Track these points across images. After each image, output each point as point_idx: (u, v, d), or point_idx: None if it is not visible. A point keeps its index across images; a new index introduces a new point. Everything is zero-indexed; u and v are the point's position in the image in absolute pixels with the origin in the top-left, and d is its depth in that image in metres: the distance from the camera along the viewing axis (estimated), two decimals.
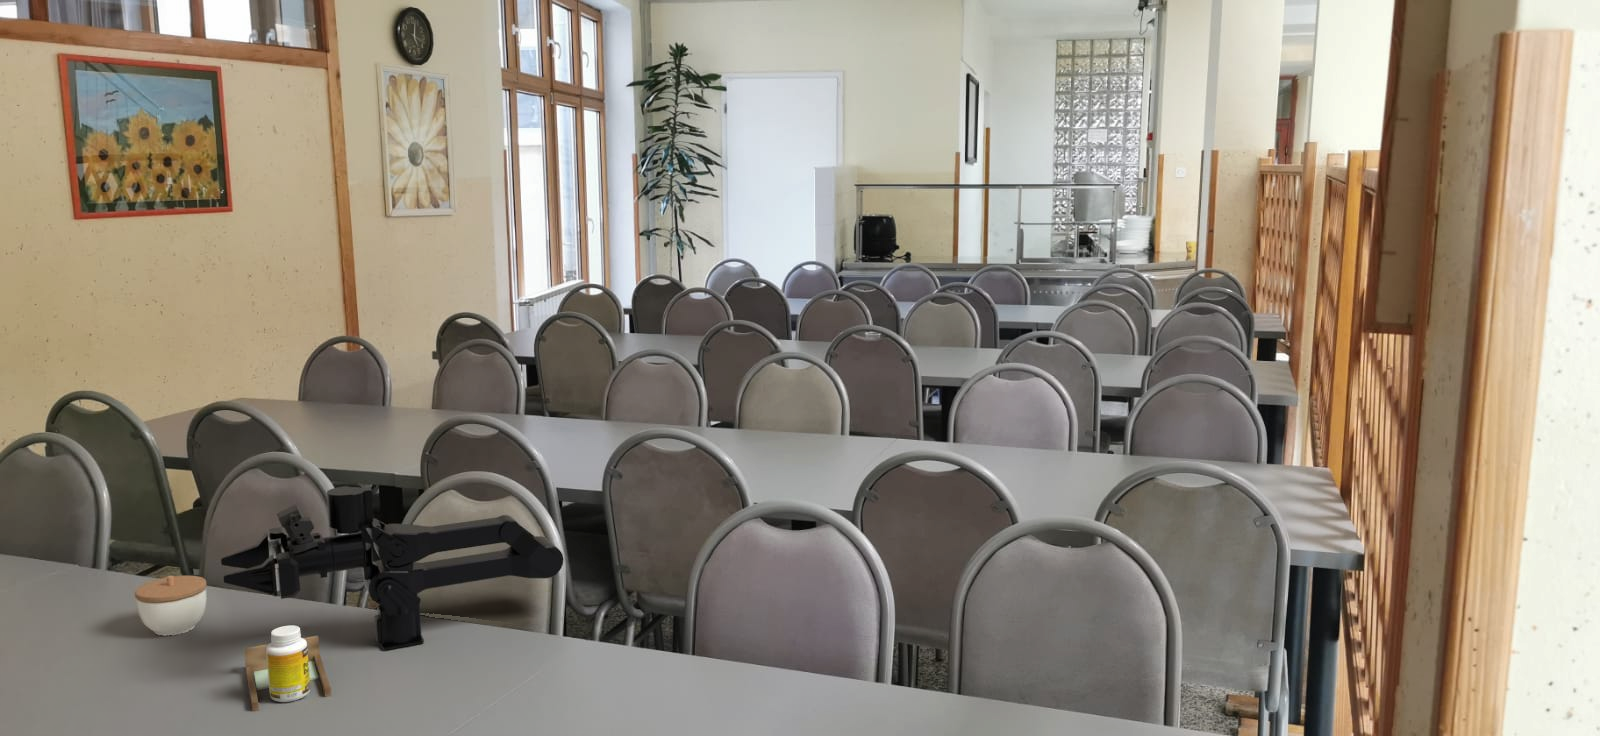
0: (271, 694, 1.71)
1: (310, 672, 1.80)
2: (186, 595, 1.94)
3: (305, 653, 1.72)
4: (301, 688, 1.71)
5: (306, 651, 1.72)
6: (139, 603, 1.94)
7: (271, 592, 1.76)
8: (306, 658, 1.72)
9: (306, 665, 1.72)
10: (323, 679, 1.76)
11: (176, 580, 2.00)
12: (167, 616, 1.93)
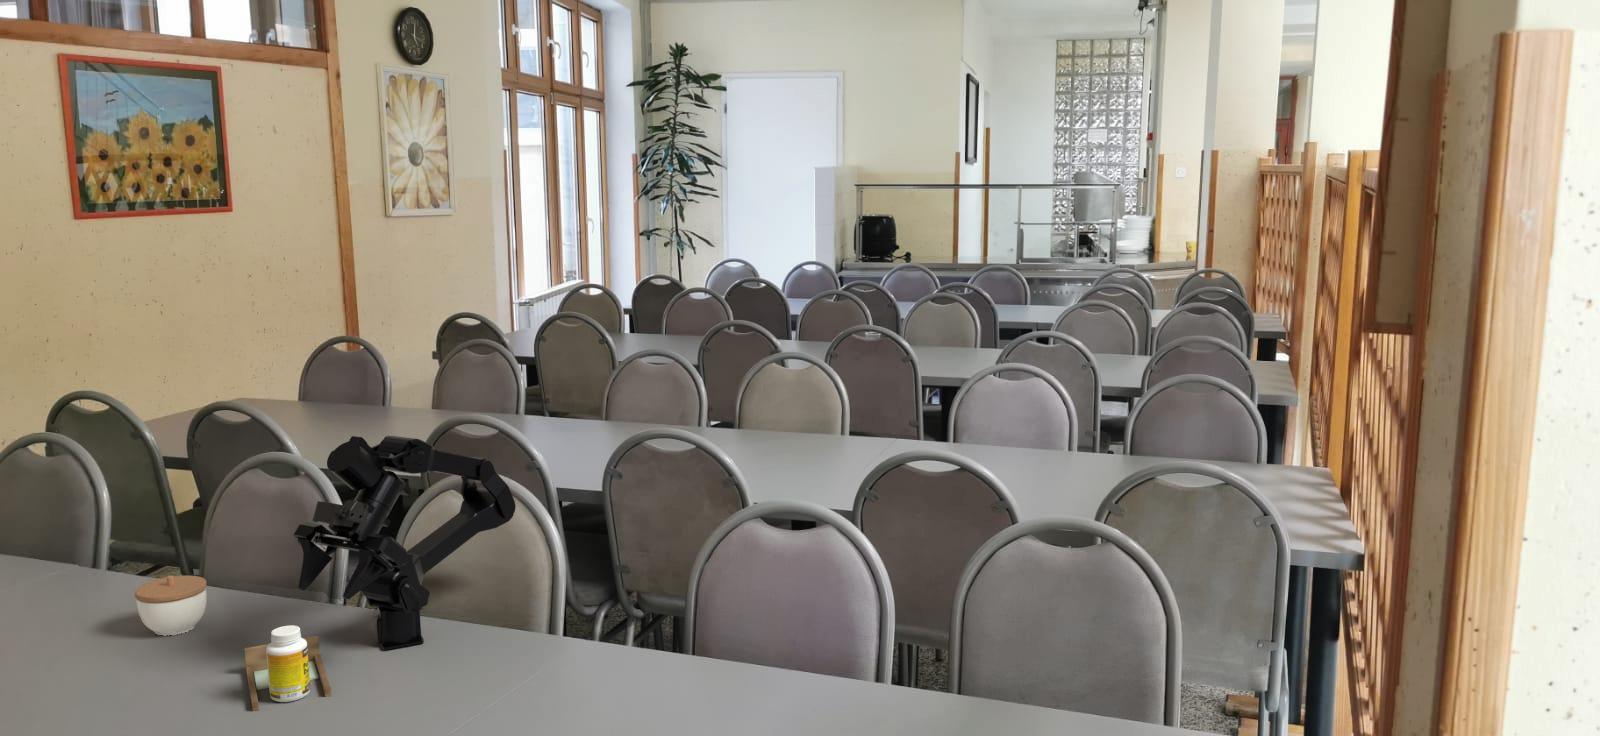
0: (271, 694, 1.71)
1: (310, 672, 1.80)
2: (186, 595, 1.94)
3: (305, 653, 1.72)
4: (301, 688, 1.71)
5: (306, 651, 1.72)
6: (139, 603, 1.93)
7: (385, 570, 1.80)
8: (306, 658, 1.72)
9: (306, 665, 1.72)
10: (323, 679, 1.76)
11: (176, 580, 2.00)
12: (167, 616, 1.93)
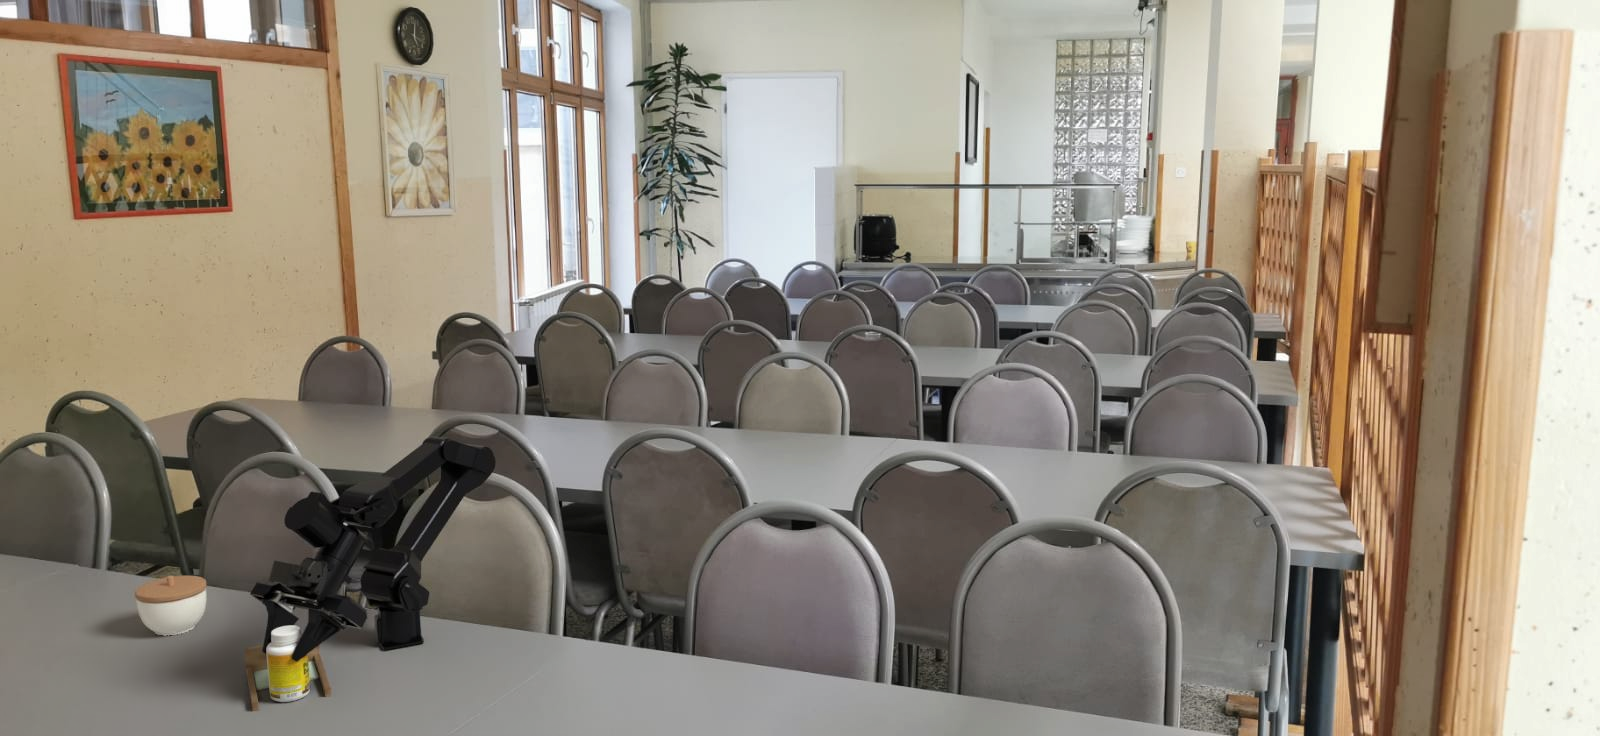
0: (271, 694, 1.71)
1: (310, 672, 1.80)
2: (186, 595, 1.94)
3: None
4: (301, 688, 1.71)
5: None
6: (139, 603, 1.93)
7: (337, 630, 1.74)
8: (306, 658, 1.72)
9: (306, 665, 1.72)
10: (323, 679, 1.76)
11: (176, 580, 2.00)
12: (167, 616, 1.93)
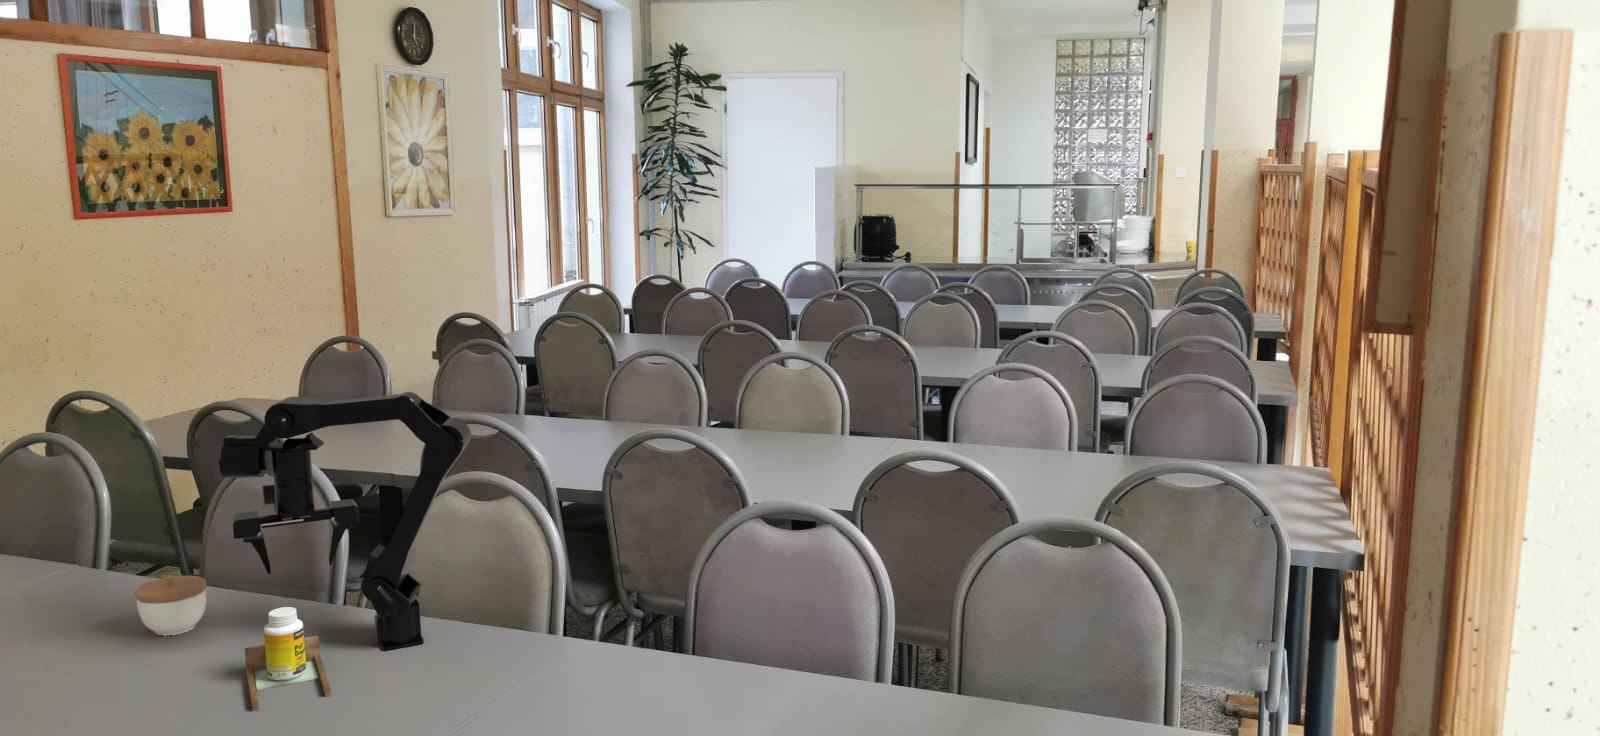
0: (267, 671, 1.78)
1: (310, 672, 1.80)
2: (186, 595, 1.94)
3: (297, 636, 1.77)
4: (292, 669, 1.77)
5: (299, 634, 1.78)
6: (139, 603, 1.93)
7: None
8: (299, 640, 1.78)
9: (299, 647, 1.78)
10: (323, 679, 1.76)
11: (176, 580, 2.00)
12: (167, 616, 1.93)
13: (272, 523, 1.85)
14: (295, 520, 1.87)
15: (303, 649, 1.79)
